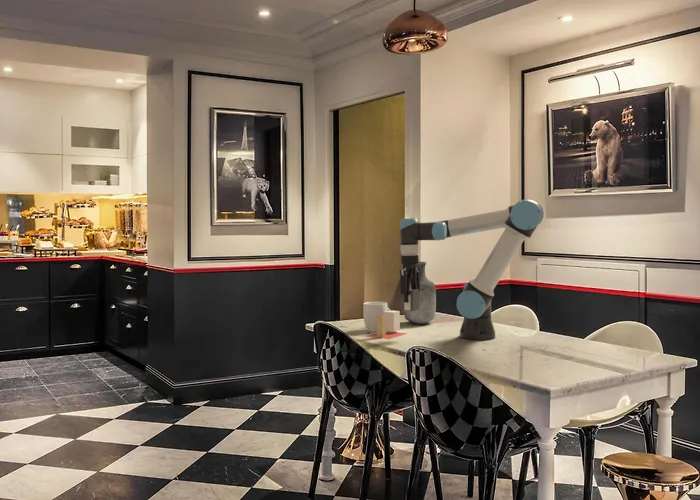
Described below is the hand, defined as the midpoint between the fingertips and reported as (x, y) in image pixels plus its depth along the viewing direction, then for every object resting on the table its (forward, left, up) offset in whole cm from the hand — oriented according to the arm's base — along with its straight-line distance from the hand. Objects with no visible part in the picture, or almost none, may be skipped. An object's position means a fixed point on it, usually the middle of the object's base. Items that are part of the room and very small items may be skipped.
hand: (411, 309), depth 290 cm
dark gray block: (0, 0, 0) cm, 0 cm away
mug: (+24, -10, -13) cm, 29 cm away
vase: (+18, -39, -13) cm, 45 cm away
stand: (+14, -2, -13) cm, 19 cm away
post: (+13, +4, -13) cm, 18 cm away
